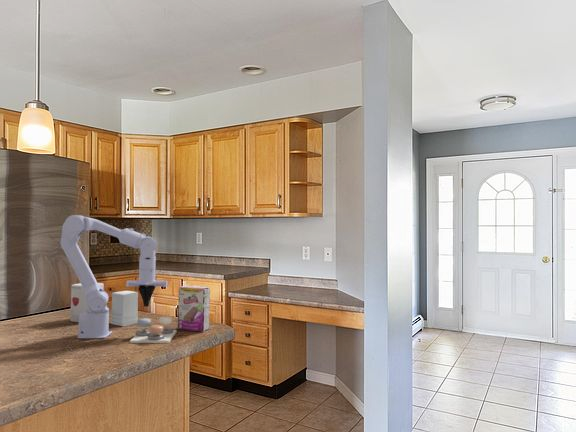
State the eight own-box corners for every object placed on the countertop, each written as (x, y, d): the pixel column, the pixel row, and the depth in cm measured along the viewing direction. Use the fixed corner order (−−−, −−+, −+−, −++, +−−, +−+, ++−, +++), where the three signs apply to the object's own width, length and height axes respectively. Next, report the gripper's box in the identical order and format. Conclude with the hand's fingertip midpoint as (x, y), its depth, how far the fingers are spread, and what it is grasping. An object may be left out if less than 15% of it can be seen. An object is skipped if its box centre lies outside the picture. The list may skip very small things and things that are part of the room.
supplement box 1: (69, 321, 173) (70, 284, 173) (85, 316, 181) (86, 281, 182) (87, 323, 170) (88, 285, 170) (103, 318, 179) (104, 282, 179)
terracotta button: (147, 334, 146) (148, 328, 146) (151, 330, 151) (151, 324, 151) (161, 334, 146) (161, 328, 146) (164, 330, 151) (164, 324, 151)
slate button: (135, 326, 151) (135, 321, 151) (139, 323, 155) (139, 318, 155) (148, 326, 151) (149, 321, 151) (152, 323, 156) (152, 318, 156)
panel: (129, 342, 145) (129, 335, 145) (140, 332, 159) (140, 325, 159) (168, 342, 146) (169, 335, 146) (176, 332, 160) (176, 325, 160)
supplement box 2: (138, 323, 172) (138, 291, 172) (122, 326, 166) (123, 294, 166) (126, 320, 176) (127, 290, 176) (110, 324, 170) (111, 292, 170)
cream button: (157, 324, 154) (157, 319, 154) (160, 321, 159) (160, 316, 159) (170, 324, 154) (170, 319, 154) (173, 321, 159) (173, 316, 159)
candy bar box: (177, 329, 163) (178, 286, 164) (183, 326, 168) (184, 284, 168) (203, 332, 160) (204, 288, 160) (209, 329, 165) (210, 286, 165)
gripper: (123, 270, 154) (123, 308, 154) (164, 270, 155) (164, 308, 155) (129, 268, 161) (129, 304, 161) (168, 268, 162) (168, 304, 162)
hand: (146, 306), depth 158 cm, fingers closed
